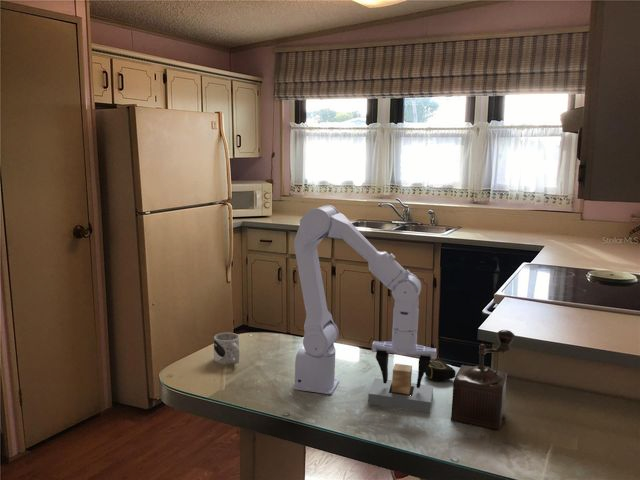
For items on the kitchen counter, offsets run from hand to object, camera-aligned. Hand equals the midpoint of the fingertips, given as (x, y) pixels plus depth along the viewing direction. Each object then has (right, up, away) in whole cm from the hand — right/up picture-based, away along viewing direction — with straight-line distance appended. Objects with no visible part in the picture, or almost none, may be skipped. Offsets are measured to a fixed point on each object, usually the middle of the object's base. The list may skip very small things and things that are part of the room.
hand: (401, 383), depth 128 cm
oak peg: (0, -4, 0) cm, 4 cm away
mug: (-43, 0, +20) cm, 48 cm away
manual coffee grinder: (+17, -5, -4) cm, 18 cm away
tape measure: (+12, -2, +14) cm, 19 cm away
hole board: (0, -4, +1) cm, 4 cm away
